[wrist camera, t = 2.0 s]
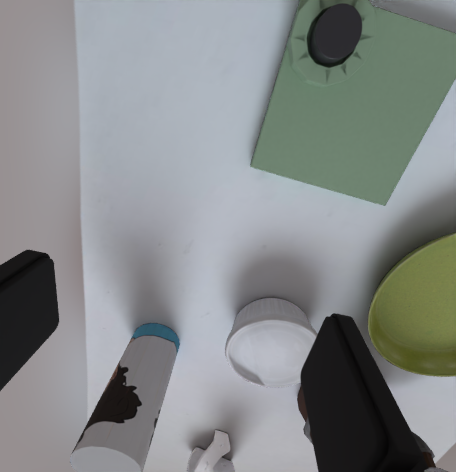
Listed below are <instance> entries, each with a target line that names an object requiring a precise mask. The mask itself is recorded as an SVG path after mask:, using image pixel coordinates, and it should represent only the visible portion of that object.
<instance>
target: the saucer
mask: <svg viewBox="0 0 456 472" xmlns="http://www.w3.org/2000/svg"><path fill="white" fill-rule="evenodd" d="M368 331H369V336H370V339H371V341H372V343H373V345H374V347H375V349H376V350H377V351H378V352H379V354H380V355H381V356H382V357H383V358H385V359H386V360H387V361H388V362H390V363H392V364H393V365H395V366H397V367H399V368H401V369H403V370H406V371H409V372H412V373H416V374H420V375H427V376H438V377H450V376H456V232H454V233H451V234H448V235H445V236H442V237H440V238H437V239H435V240H433V241H430V242H428V243H426V244H424V245H422V246H421V247H419V248H417V249H416V250H414V251H413V252H411V253H410V254H408V255H407V256H405V257H404V258H403V259H402V260H400V261H399V262H398V263H397V264H396V265H395V266H394V267H393V268H392V269H391V270H390V271H389V272H388V274H387V275H386V276H385V277H384V279H383V280H382V281H381V283H380V284H379V286H378V288H377V290H376V292H375V294H374V296H373V299H372V301H371V305H370V309H369V314H368Z"/></svg>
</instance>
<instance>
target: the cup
mask: <svg viewBox="0 0 456 472" xmlns="http://www.w3.org/2000/svg"><path fill="white" fill-rule="evenodd" d="M179 345H180V343H179V338H178V337H177V335H176V333H174V332H173V331H172V330H171V329H170V328H168V327H166V326H164V325H161V324H156V323H149V324H145V325H142V326H140V327H139V328H137V330H136V331H135V333H134V334H133V336H132V338H131V340H130V342H129V344H128V346H127V348H126V350H125V352H124V354H123V356H122V358H121V360H120V361H119V363H118V365H117V367H116V369H115V371H114V373H113V375H112V377H111V379H110V381H109V383H108V385H107V386H106V388H105V390H104V392H103V394H102V396H101V398H100V400H99V402H98V404H97V406H96V408H95V410H94V412H93V413H92V415H91V417H90V419H89V421H88V423H87V425H86V427H85V429H84V431H83V433H82V435H81V437H80V439H79V441H78V442H77V444H76V446H75V448H74V450H73V452H72V454H71V456H70V463H71V465H72V467H73V469H74V470H75V471H76V472H142V471H143V468H144V465H145V461H146V458H147V454H148V451H149V448H150V444H151V441H152V437H153V434H154V431H155V427H156V424H157V420H158V417H159V414H160V410H161V407H162V403H163V400H164V397H165V393H166V390H167V386H168V383H169V379H170V376H171V373H172V369H173V366H174V362H175V359H176V356H177V352H178V349H179Z"/></svg>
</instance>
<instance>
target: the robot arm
mask: <svg viewBox="0 0 456 472" xmlns="http://www.w3.org/2000/svg"><path fill="white" fill-rule="evenodd" d="M58 323H59V313H58V302H57V293H56V283H55V271H54V262H53V260H52V259H50V257H49V255H48V254H46V253H42V252H37V251H32V250H26V251H24V252H22V253H20V254H18V255H17V256H15V257H13V258H12V259H10V260H8V261H7V262H5V263H3V264H2V265H0V391H1V390H2V388H3V387H4V386H5V385H6V384H7V383H8V382H9V381H10V380H11V378H12V377H13V376H14V375H15V374H16V373H17V372H18V371H19V370H20V368H21V367H22V366H23V365H24V364H25V363H26V362H27V361H28V360H29V358H30V357H31V356H32V355H33V354H34V353H35V352H36V351H37V350H38V349H39V348H40V346H41V345H42V344H43V343H44V342H45V341H46V340H47V339H48V338H49V336H50V335H51V334H52V333H53V332H54V331H55V329H56V328H57V326H58ZM300 379H301V385H302V390H303V395H304V400H305V405H306V410H307V415H308V420H309V426H310V431H311V436H312V441H313V446H314V451H315V456H316V461H317V466H318V471H319V472H448V471H445V470H443V469H441V468H433V467H431V468H429V467H428V465H427V463H426V461H425V459H424V455H423V453H422V451H421V450H420V448H419V446H418V444H417V442H416V440H415V438H414V436H413V434H412V432H411V430H410V428H409V426H408V424H407V422H406V420H405V419H404V417H403V415H402V413H401V411H400V409H399V407H398V405H397V403H396V401H395V399H394V397H393V395H392V393H391V391H390V389H389V388H388V386H387V384H386V382H385V380H384V378H383V376H382V374H381V372H380V370H379V368H378V366H377V364H376V362H375V360H374V358H373V357H372V355H371V353H370V351H369V349H368V347H367V345H366V343H365V341H364V339H363V337H362V335H361V333H360V331H359V329H358V327H357V326H356V324H355V322H354V320H353V318H352V317H349V316H345V315H340V314H335V313H334V314H332V315H331V316H330V317H326V318H325V320H324V322H323V324H322V326H321V328H320V330H319V333H318V335H317V337H316V339H315V341H314V343H313V346H312V348H311V350H310V352H309V354H308V356H307V359H306V361H305V363H304V365H303V367H302V370H301V375H300Z"/></svg>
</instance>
